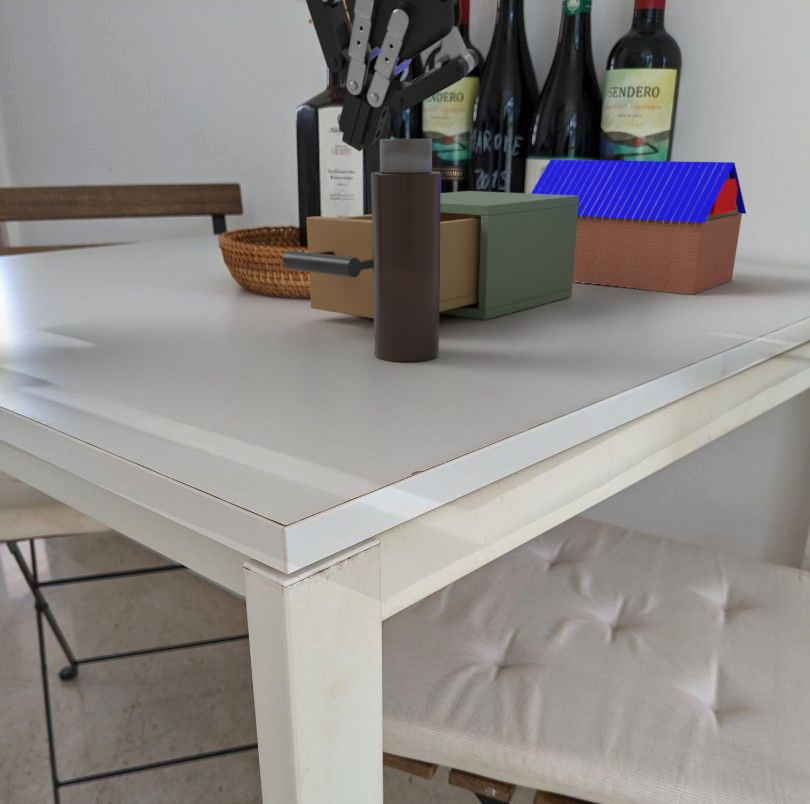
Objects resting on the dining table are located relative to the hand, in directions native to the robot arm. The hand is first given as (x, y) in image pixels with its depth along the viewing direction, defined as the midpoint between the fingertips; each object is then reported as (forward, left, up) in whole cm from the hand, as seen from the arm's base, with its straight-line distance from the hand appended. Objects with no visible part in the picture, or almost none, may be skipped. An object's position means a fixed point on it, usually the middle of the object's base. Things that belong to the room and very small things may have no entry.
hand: (356, 142), depth 63 cm
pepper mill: (+8, -4, -14) cm, 16 cm away
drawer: (-1, +5, -13) cm, 14 cm away
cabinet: (-1, +17, -14) cm, 22 cm away
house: (+4, +38, -14) cm, 41 cm away
